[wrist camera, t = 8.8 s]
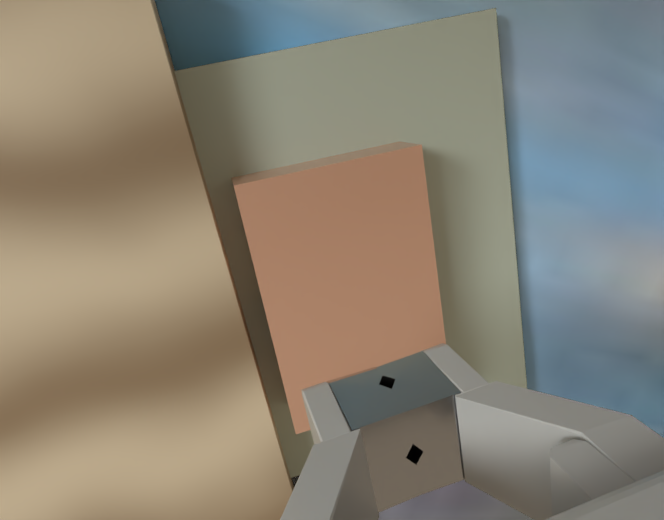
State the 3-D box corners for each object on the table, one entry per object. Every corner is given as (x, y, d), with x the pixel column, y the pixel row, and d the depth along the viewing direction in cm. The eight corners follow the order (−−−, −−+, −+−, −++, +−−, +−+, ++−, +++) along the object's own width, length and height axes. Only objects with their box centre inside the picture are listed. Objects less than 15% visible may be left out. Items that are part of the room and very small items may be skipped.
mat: (175, 72, 16) (174, 70, 15) (486, 11, 17) (496, 7, 17) (288, 468, 21) (290, 478, 20) (519, 390, 22) (528, 397, 22)
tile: (231, 177, 16) (233, 185, 14) (399, 141, 17) (421, 144, 15) (287, 403, 19) (295, 434, 17) (428, 361, 20) (451, 386, 18)
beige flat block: (-321, 42, 13) (-436, 26, 10) (145, -33, 15) (132, -60, 12) (19, 622, 20) (-6, 687, 18) (303, 521, 22) (314, 568, 19)
